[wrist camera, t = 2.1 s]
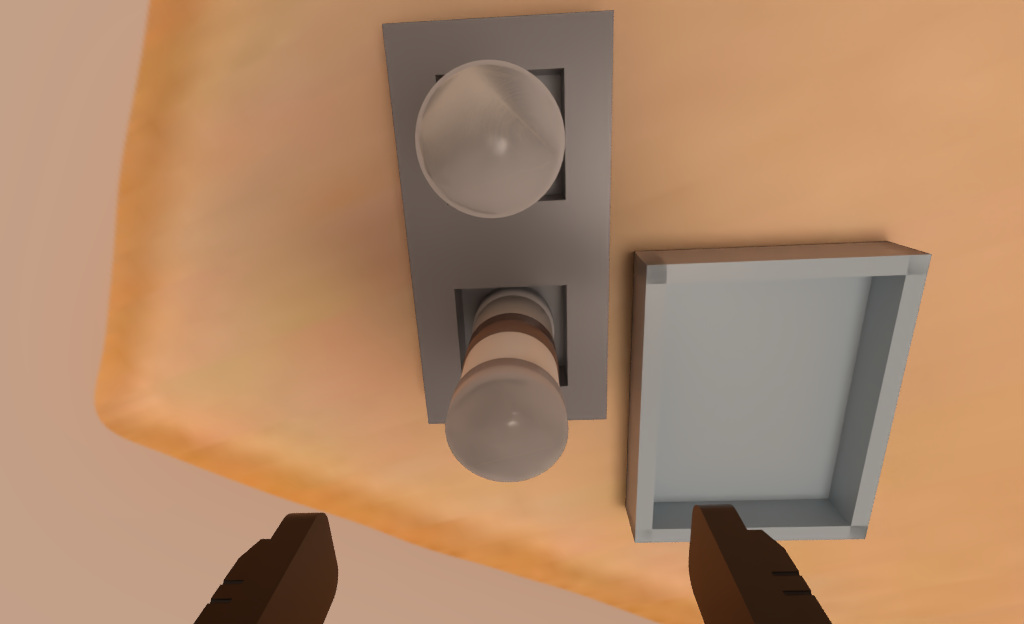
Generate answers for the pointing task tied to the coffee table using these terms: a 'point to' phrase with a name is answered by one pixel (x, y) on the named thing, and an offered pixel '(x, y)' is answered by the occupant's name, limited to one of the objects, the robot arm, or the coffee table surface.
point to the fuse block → (525, 235)
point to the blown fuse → (509, 391)
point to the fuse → (490, 138)
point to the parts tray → (766, 384)
